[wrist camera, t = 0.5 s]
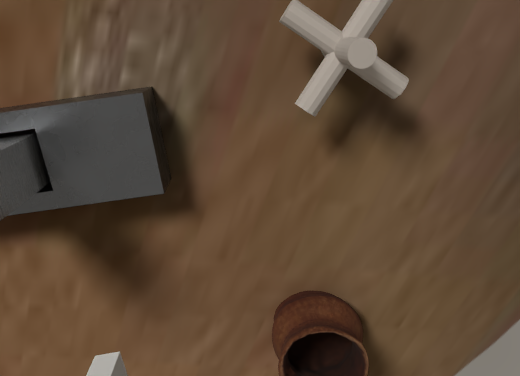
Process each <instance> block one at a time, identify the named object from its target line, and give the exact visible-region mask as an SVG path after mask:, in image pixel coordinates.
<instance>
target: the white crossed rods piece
mask: <svg viewBox="0 0 520 376" xmlns="http://www.w3.org/2000/svg"><path fill="white" fill-rule="evenodd" d="M392 1H393V0H362V1H361V3H360V4H359V6H358V7H357V9H356V10H355V12H354V13H353V15H352V17H351V18H350V20H349V21H348V23H347V24H346V26H345V27H344V29H343V30H342V31H340V30H339V29H338V28H336V27H335V26H333V25H332V24H330V23H329V22H328V21H326V20H325V19H323V18H322V17H320V16H319V15H318V14H316V13H315V12H313V11H312V10H310V9H309V8H308V7H306V6H305V5H303V4H302V3H300V2H299V1H298V0H292V1H291V2H290V4H289V5H288V7H287V9H286V10H285V12H284V14H283V15H282V17H281V19H280V21H279V22H281V23H282V24H283V25H285V26H286V27H288V28H289V29H291V30H292V31H294V32H295V33H297V34H298V35H300V36H301V37H302V38H304V39H305V40H307V41H308V42H310V43H311V44H313V45H314V46H316V47H317V48H319V49H320V50H321V52H322V54H323V56H324V57H325V58H324V59H323V61H322V63H321V64H320V66H319V67H318V69H317V70H316V72H315V73H314V75H313V76H312V78H311V79H310V81H309V82H308V84H307V86H306V87H305V89H304V90H303V92H302V93H301V95H300V96H299V98H298V99H297V101H296V102H295V104H297V105H298V106H299V107H301V108H302V109H303V110H305V111H306V112H308V113H310V114H311V115H313V116H316V115H317V113H318V112H319V110H320V109H321V107H322V106H323V104H324V103H325V101H326V100H327V98H328V97H329V95H330V94H331V92H332V91H333V89H334V88H335V86H336V85H337V83H338V82H339V80H340V79H341V77H342V76H343V74H344V73H345V71H346V70H347V68H348V69H349V70H351V71H352V72H354V73H355V74H357V75H358V76H360V77H361V78H362V79H364V80H365V81H367V82H368V83H370V84H371V85H373V86H374V87H376V88H377V89H379V90H380V91H382V92H383V93H384V94H386V95H387V96H389V97H390V98H392V99H395V98H397V97H398V96H399V95H400V94H401V93H402V92H403V91H404V89H405V88H406V86H407V84H408V81H409V79H408V78H407V77H406V76H405V75H403V74H402V73H400V72H399V71H397V70H396V69H395V68H393V67H392V66H390V65H389V64H387V63H386V62H385V61H383V60H382V59H380V58H379V57H377V48H376V45H375V44H374V42H373V41H372V40H370V39H368V37H369V36H370V34H371V33H372V31H373V30H374V28H375V27H376V25H377V24H378V22H379V21H380V19H381V18H382V16H383V15H384V13H385V12H386V10H387V9H388V7H389V6H390V4H391V3H392Z"/></svg>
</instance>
